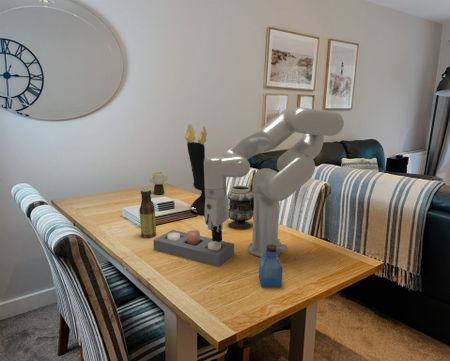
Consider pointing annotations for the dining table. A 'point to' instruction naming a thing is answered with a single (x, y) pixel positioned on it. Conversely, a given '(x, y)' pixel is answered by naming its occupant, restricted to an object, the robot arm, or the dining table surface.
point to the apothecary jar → (240, 206)
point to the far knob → (173, 236)
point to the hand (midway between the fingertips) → (217, 240)
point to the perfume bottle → (270, 268)
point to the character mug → (158, 182)
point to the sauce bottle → (147, 215)
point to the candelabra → (197, 165)
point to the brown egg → (193, 237)
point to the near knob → (214, 245)
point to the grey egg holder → (194, 249)
